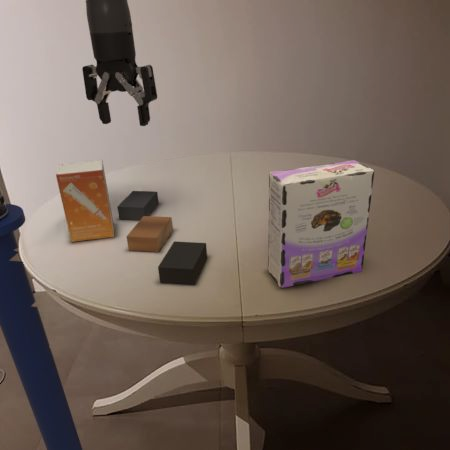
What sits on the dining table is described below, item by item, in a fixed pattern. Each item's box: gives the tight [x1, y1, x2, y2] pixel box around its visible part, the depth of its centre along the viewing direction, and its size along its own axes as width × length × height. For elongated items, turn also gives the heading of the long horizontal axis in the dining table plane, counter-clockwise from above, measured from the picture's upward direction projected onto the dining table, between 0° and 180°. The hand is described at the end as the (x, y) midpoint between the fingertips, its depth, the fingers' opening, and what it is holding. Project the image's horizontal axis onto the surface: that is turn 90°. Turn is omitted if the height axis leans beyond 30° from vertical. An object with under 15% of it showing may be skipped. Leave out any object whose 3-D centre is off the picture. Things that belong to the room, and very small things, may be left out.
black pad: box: [157, 241, 208, 286], centre depth 76 cm, size 9×6×3 cm, turn 169°
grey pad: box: [116, 190, 160, 221], centre depth 98 cm, size 9×6×3 cm, turn 169°
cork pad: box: [126, 215, 174, 253], centre depth 86 cm, size 9×6×3 cm, turn 169°
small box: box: [55, 159, 115, 243], centre depth 86 cm, size 8×6×13 cm
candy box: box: [267, 159, 375, 289], centre depth 70 cm, size 14×6×16 cm, turn 106°
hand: (125, 124), depth 92 cm, fingers open, 8 cm apart
